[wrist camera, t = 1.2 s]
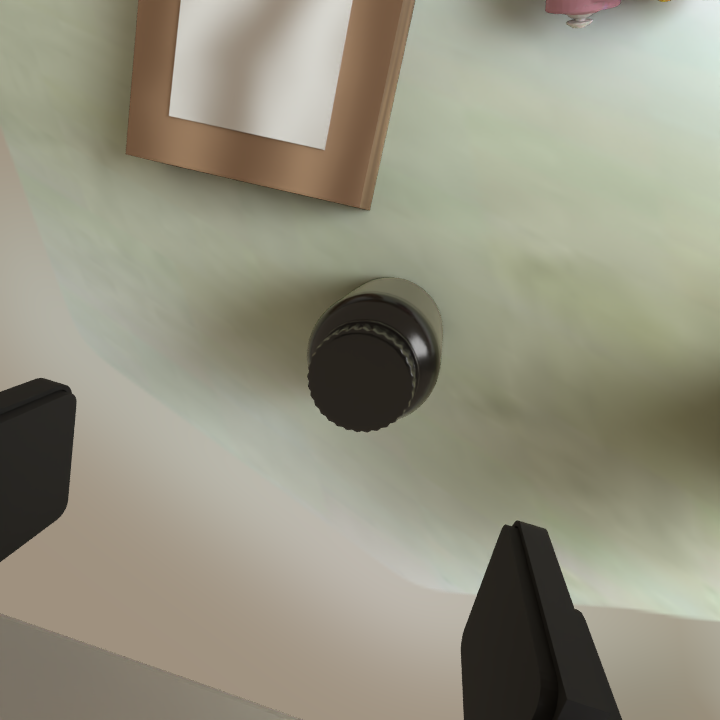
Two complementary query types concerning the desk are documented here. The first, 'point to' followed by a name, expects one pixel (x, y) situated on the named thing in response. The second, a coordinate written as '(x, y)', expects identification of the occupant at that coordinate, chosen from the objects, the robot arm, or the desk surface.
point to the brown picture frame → (269, 90)
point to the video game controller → (580, 9)
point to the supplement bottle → (375, 354)
